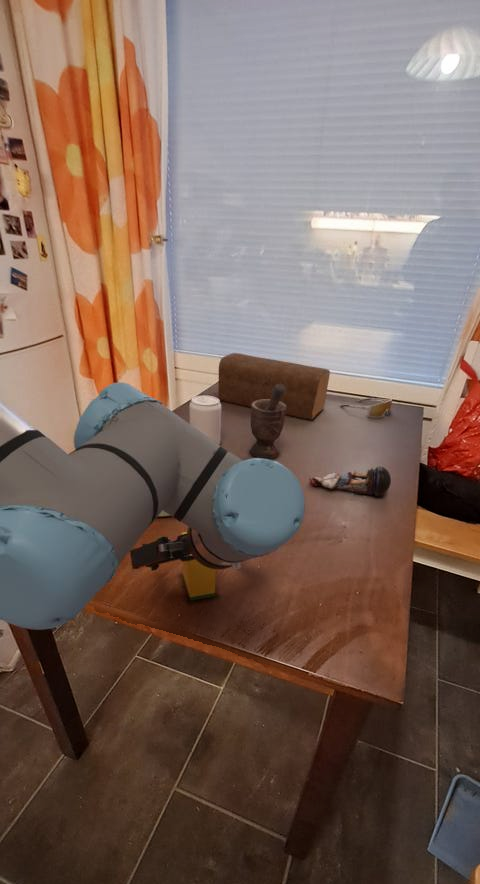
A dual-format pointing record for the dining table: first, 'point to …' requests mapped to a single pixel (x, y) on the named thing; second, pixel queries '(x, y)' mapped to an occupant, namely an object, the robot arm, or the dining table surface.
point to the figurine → (357, 481)
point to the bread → (273, 383)
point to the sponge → (198, 579)
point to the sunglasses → (375, 407)
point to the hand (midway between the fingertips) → (195, 555)
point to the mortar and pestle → (267, 423)
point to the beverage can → (206, 416)
